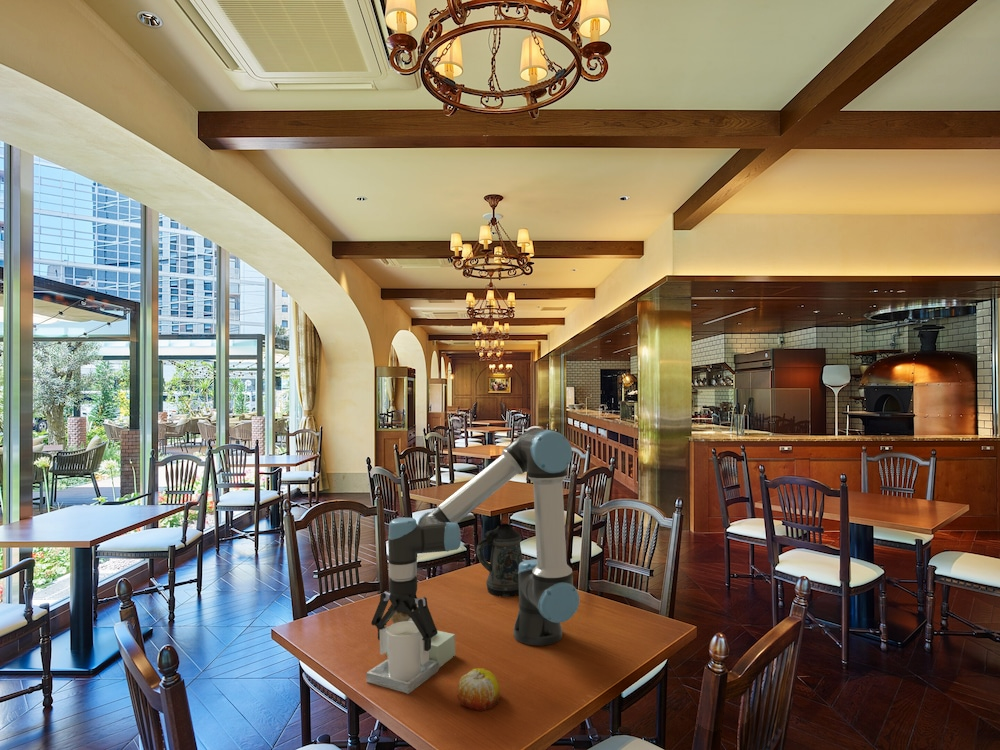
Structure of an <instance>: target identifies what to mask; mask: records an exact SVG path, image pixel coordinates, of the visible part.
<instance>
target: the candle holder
mask: <svg viewBox="0 0 1000 750" xmlns="http://www.w3.org/2000/svg"><path fill="white" fill-rule="evenodd" d="M386 637H387V654H388V656H387V659H388V670H389V677H391V678H395V679H399V680H402V681H409V680H411V679H412V678H414V677H415V676H417V675H418V674H419V673H420V669H421V646H420V639H421V638H422V635H421V633H420V632H419V630H418V628H417V627H416V625H415V623H414V622H413V621H403V622H397V623H392V624H389V625H388V626H387V629H386Z"/></svg>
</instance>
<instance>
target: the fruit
mask: <svg viewBox="0 0 1000 750" xmlns="http://www.w3.org/2000/svg"><path fill="white" fill-rule="evenodd" d="M500 689H501V688H500V684H499V682H498V679H497V677H496V676H495V675H494V673H493V672H491V671H490V670H487V669H486V668H483V667H482V668H479V667H478V668H472V669H471V670H470V671H469V672H467V673H465V674H463V675H462V676H461V677H460V679H459V681H458V684H457V693H456V697H457V699H458V701H459V703H460V704H461V705H462V706H463V707H467V708H468V709H469V710H475V711H485V710H490V709H492V708H493V707H494V706H496V705H497V703H499V699H500V696H501V694H500V693H501V692H500V691H501V690H500Z"/></svg>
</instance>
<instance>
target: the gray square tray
mask: <svg viewBox="0 0 1000 750" xmlns="http://www.w3.org/2000/svg"><path fill="white" fill-rule="evenodd" d="M439 669H440V667H439V662H438V661H434V660H430V659H429V661H428V662H426V663H425V664H424V665H422V664H421V669H420V673H419V674H418V675H417V676H415V677H414V678H412V679H411V680H409V681H402V680H399V679H395V678H391V677H389V670H388V658H386V659H385V660H384V661H382V662H381V663H379V664H377V665H376V666H374V667H373V668H371V669H370V670H368V671H367V672H366V673H365V674H366V679H365V680H366V683H369V684H373V685H376V686H380V687H382V688H387V689H390V690H394V691H396V692H399V693H400V692H401V693H404V694H406V695H408V694H410V693H412V692H413V691H414V690H416V689H417V688H418V687H419V686H420V685H422V684H424V683H425V682H426V681H427V680H428V679H430V678H431V677H432V676H434V675H435V674H436V673H438V672H439V671H440V670H439Z"/></svg>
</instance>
